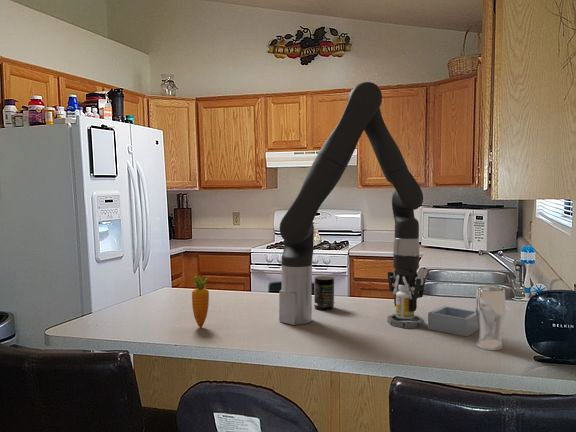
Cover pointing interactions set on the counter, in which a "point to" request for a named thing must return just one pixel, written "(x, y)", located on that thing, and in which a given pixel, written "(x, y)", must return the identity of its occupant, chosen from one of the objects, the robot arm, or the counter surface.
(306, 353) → the counter surface
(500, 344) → the beer glass
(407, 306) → the supplement bottle
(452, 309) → the bin
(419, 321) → the collar
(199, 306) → the carrot
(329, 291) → the supplement container
